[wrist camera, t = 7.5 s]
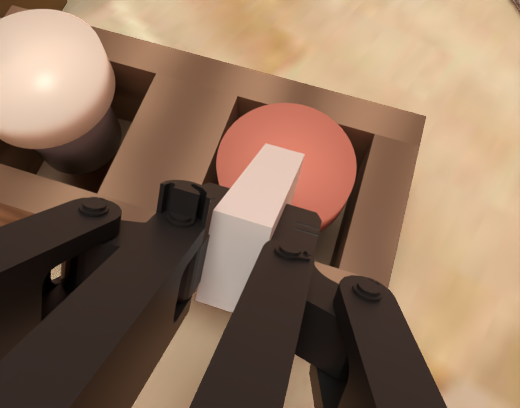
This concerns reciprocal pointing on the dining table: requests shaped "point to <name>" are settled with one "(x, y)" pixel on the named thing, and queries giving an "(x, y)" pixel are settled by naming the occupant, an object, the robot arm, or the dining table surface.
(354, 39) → the dining table surface
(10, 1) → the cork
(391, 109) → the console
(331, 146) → the red button
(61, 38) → the ivory button
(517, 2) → the dish towel
